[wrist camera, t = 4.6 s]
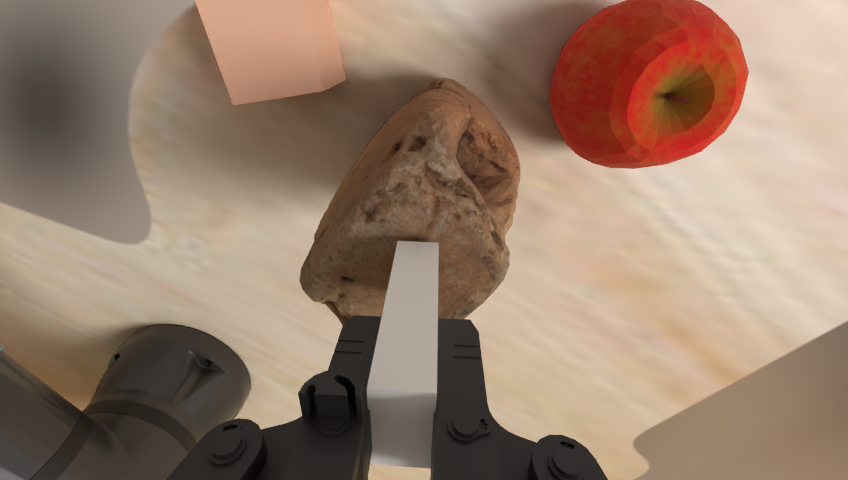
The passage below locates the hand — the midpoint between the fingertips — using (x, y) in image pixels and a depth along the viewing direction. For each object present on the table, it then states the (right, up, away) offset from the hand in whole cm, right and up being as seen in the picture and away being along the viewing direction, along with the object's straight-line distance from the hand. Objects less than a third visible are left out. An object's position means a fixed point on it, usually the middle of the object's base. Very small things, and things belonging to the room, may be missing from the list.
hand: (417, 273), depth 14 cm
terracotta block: (-9, +16, +15) cm, 24 cm away
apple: (+15, +14, +15) cm, 25 cm away
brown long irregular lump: (+1, +10, +18) cm, 20 cm away
